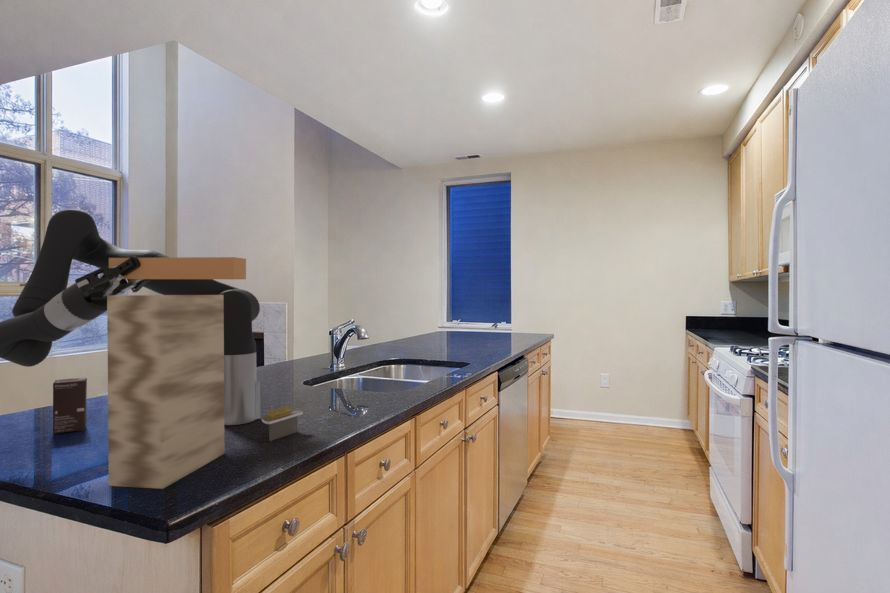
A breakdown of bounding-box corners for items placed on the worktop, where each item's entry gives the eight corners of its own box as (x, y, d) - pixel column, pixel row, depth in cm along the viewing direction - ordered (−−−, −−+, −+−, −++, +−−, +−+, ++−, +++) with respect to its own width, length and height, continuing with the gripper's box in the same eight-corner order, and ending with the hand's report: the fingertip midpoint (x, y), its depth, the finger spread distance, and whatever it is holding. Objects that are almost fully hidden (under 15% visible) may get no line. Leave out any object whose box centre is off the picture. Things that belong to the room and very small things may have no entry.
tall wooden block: (108, 485, 78) (107, 295, 78) (179, 451, 95) (177, 295, 95) (163, 488, 77) (161, 295, 76) (224, 453, 94) (223, 294, 93)
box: (52, 435, 106) (52, 382, 106) (55, 430, 110) (55, 379, 110) (85, 430, 110) (85, 379, 110) (87, 426, 113) (87, 377, 113)
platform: (228, 444, 100) (228, 414, 100) (292, 424, 116) (292, 398, 116) (266, 453, 94) (266, 421, 94) (328, 430, 110) (328, 403, 110)
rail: (108, 278, 90) (108, 257, 90) (125, 279, 94) (125, 259, 94) (234, 278, 87) (234, 257, 87) (245, 279, 91) (245, 258, 90)
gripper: (35, 287, 86) (107, 240, 84) (101, 288, 100) (164, 248, 98) (53, 323, 86) (126, 276, 84) (117, 318, 100) (180, 279, 98)
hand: (146, 261), depth 91 cm, fingers closed on rail, 4 cm apart
